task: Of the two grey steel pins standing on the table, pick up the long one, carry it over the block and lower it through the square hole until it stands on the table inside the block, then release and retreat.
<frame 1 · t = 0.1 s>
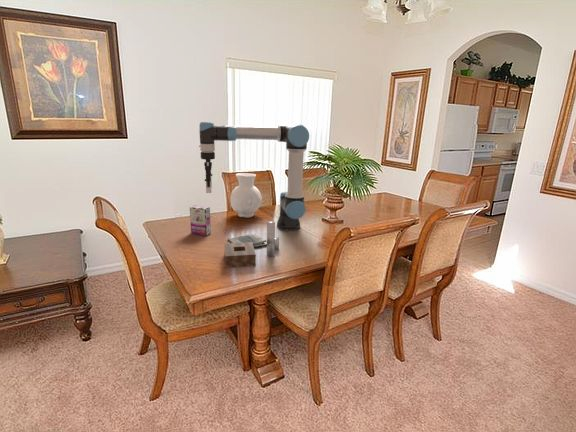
hand: (209, 190, 186), 28 cm above the table, fingers open, 13 cm apart
long pin: (270, 255, 171), on the table
vase: (246, 216, 237), on the table
candy bar box: (201, 233, 200), on the table
short pin: (275, 248, 180), on the table
hole block: (239, 260, 164), on the table
dish towel: (247, 244, 187), on the table
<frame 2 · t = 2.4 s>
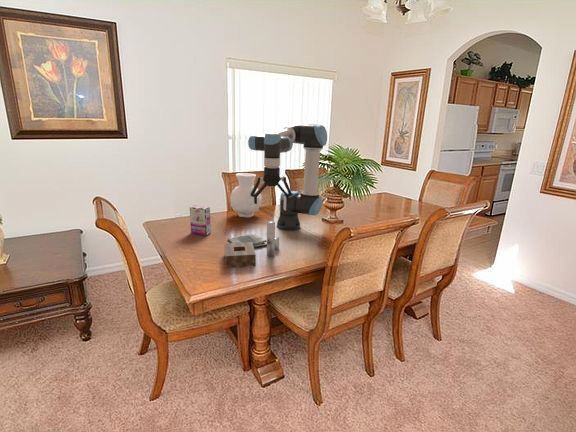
hand: (271, 210, 164), 24 cm above the table, fingers open, 13 cm apart
nothing on the table moved.
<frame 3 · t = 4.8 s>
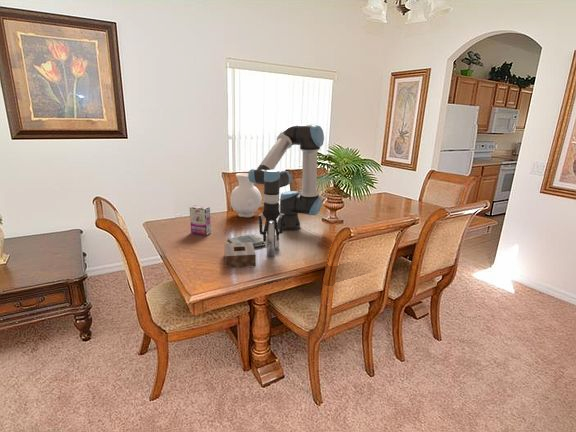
hand: (270, 246, 169), 5 cm above the table, fingers closed on long pin, 4 cm apart
long pin: (270, 255, 171), on the table, touching gripper
everything else where it was.
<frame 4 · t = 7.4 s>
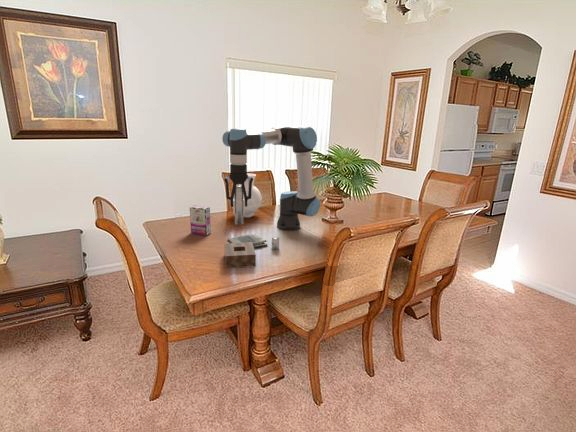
hand: (239, 213, 157), 24 cm above the table, fingers closed on long pin, 4 cm apart
long pin: (239, 223, 159), point 19 cm above the table, touching gripper
everything else where it was.
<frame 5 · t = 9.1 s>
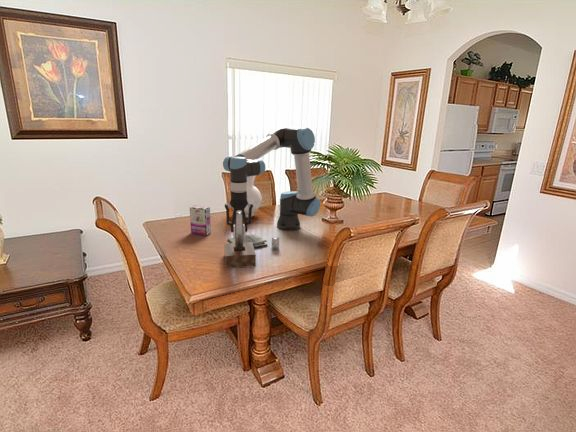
hand: (239, 238, 161), 12 cm above the table, fingers closed on long pin, 4 cm apart
long pin: (239, 248, 162), point 6 cm above the table, touching gripper
everything else where it was.
when the fingers open (7 cm above the table, at t = 10.2 s): long pin drops 2 cm, resting in hole block.
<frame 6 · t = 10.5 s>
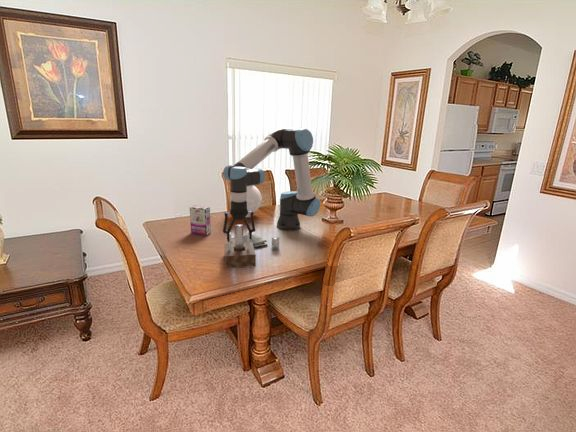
hand: (239, 245, 162), 8 cm above the table, fingers open, 8 cm apart
long pin: (239, 260, 164), resting in hole block
everything else where it was.
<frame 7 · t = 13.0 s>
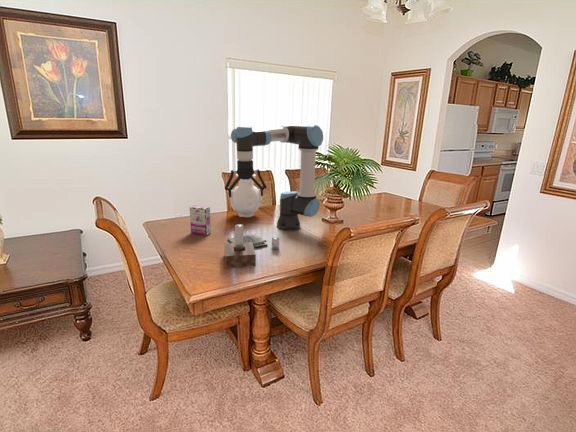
hand: (246, 203, 165), 27 cm above the table, fingers open, 13 cm apart
nothing on the table moved.
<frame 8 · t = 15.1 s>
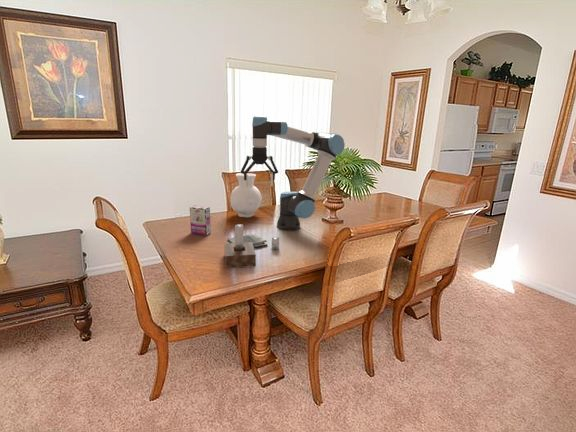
hand: (259, 186, 182), 32 cm above the table, fingers open, 13 cm apart
nothing on the table moved.
at the end: long pin 0.0 cm off-centre on the hole block, point 0.0 cm above the hole block's base; long pin tilted 0°; the gripper is holding nothing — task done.
